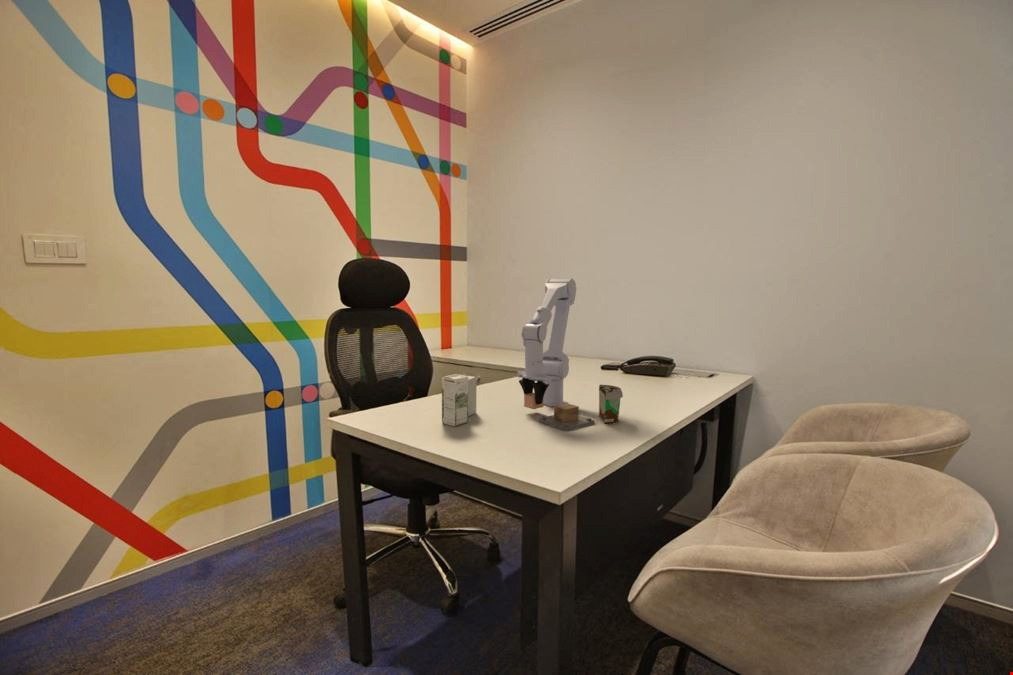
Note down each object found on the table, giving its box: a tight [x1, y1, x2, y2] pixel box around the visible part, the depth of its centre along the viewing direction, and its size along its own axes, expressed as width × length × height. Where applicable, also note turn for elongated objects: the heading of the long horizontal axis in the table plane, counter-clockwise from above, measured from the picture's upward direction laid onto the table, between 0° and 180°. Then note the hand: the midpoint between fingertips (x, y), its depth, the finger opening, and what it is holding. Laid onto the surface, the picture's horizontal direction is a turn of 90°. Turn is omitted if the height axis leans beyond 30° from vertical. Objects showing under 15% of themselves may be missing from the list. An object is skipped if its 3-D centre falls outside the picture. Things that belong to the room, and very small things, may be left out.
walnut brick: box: [553, 403, 580, 423], centre depth 147 cm, size 4×6×4 cm
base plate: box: [537, 414, 596, 432], centre depth 147 cm, size 12×12×2 cm
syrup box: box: [441, 373, 469, 427], centre depth 146 cm, size 6×6×14 cm
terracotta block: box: [523, 392, 544, 410], centre depth 157 cm, size 4×4×4 cm
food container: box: [598, 384, 624, 425], centre depth 149 cm, size 12×6×10 cm, turn 179°
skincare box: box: [466, 375, 477, 418], centre depth 156 cm, size 6×4×12 cm
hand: (533, 402), depth 157 cm, fingers closed on terracotta block, 4 cm apart
